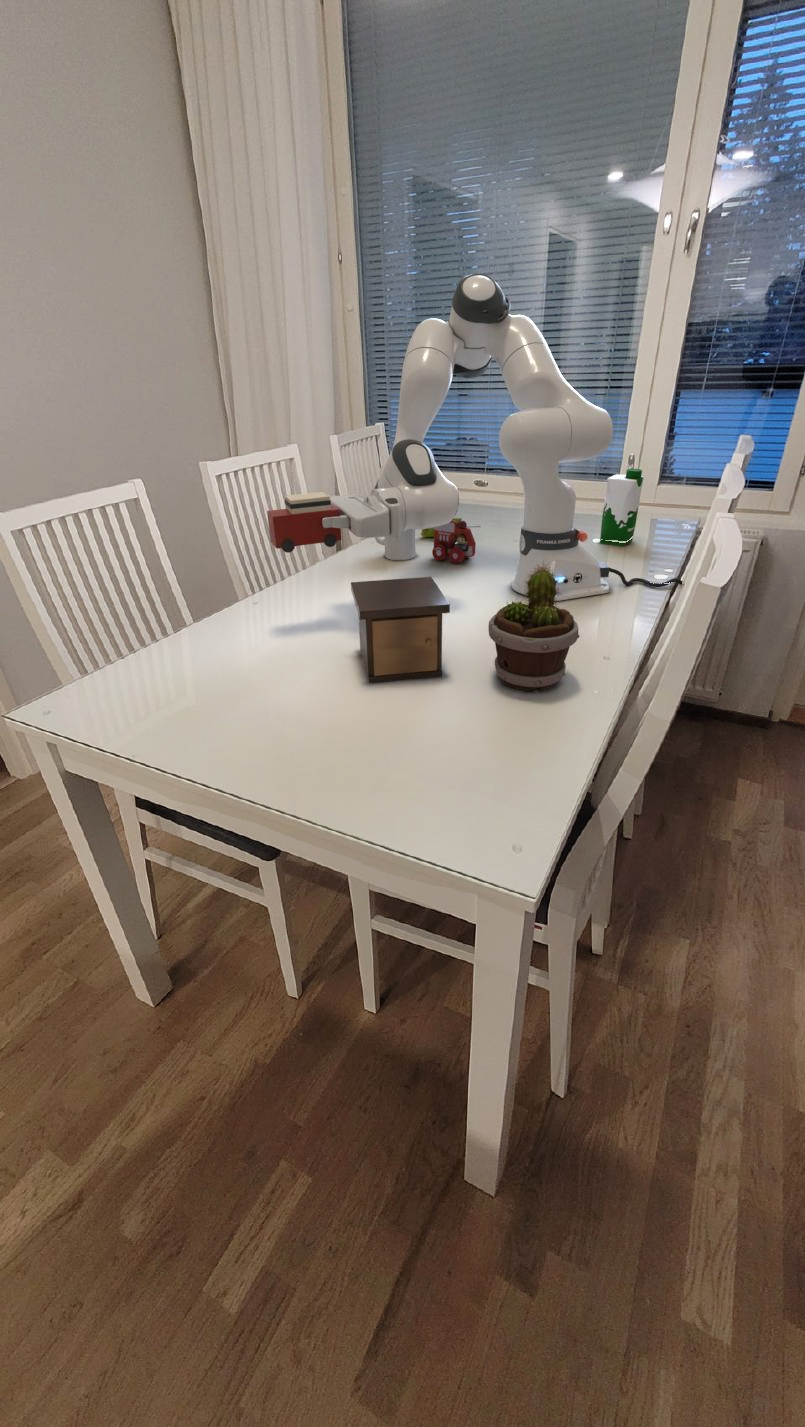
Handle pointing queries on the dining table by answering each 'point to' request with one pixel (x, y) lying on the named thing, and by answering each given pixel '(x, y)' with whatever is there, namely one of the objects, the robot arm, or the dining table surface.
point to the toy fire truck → (453, 542)
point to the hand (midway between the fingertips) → (317, 518)
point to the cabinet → (400, 628)
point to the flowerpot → (533, 636)
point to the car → (303, 522)
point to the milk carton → (621, 507)
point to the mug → (399, 545)
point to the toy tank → (430, 531)
